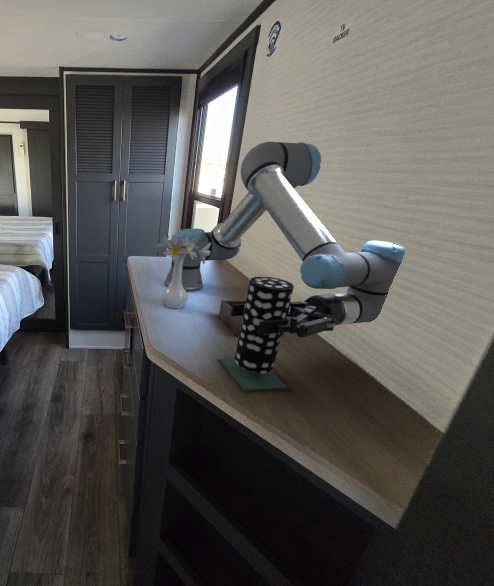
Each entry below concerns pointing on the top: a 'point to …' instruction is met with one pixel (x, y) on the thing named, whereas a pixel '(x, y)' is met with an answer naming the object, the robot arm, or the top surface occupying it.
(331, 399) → the top surface
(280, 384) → the mat
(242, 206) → the robot arm
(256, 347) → the white-spotted black cylinder
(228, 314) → the crate
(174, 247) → the flower vase
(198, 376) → the top surface
